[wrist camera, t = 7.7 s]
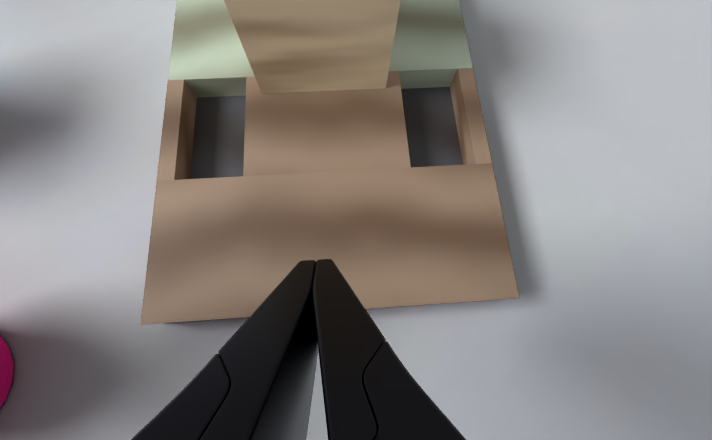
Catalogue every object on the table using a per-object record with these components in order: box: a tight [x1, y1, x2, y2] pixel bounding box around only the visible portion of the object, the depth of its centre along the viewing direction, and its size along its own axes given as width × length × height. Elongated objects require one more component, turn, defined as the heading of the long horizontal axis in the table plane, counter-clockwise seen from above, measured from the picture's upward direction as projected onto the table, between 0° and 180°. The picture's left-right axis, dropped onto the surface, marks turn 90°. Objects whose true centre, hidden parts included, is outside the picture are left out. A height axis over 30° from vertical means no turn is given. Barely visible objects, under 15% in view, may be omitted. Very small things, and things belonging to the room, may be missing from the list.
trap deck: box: [141, 0, 519, 325], centre depth 21 cm, size 24×20×2 cm
